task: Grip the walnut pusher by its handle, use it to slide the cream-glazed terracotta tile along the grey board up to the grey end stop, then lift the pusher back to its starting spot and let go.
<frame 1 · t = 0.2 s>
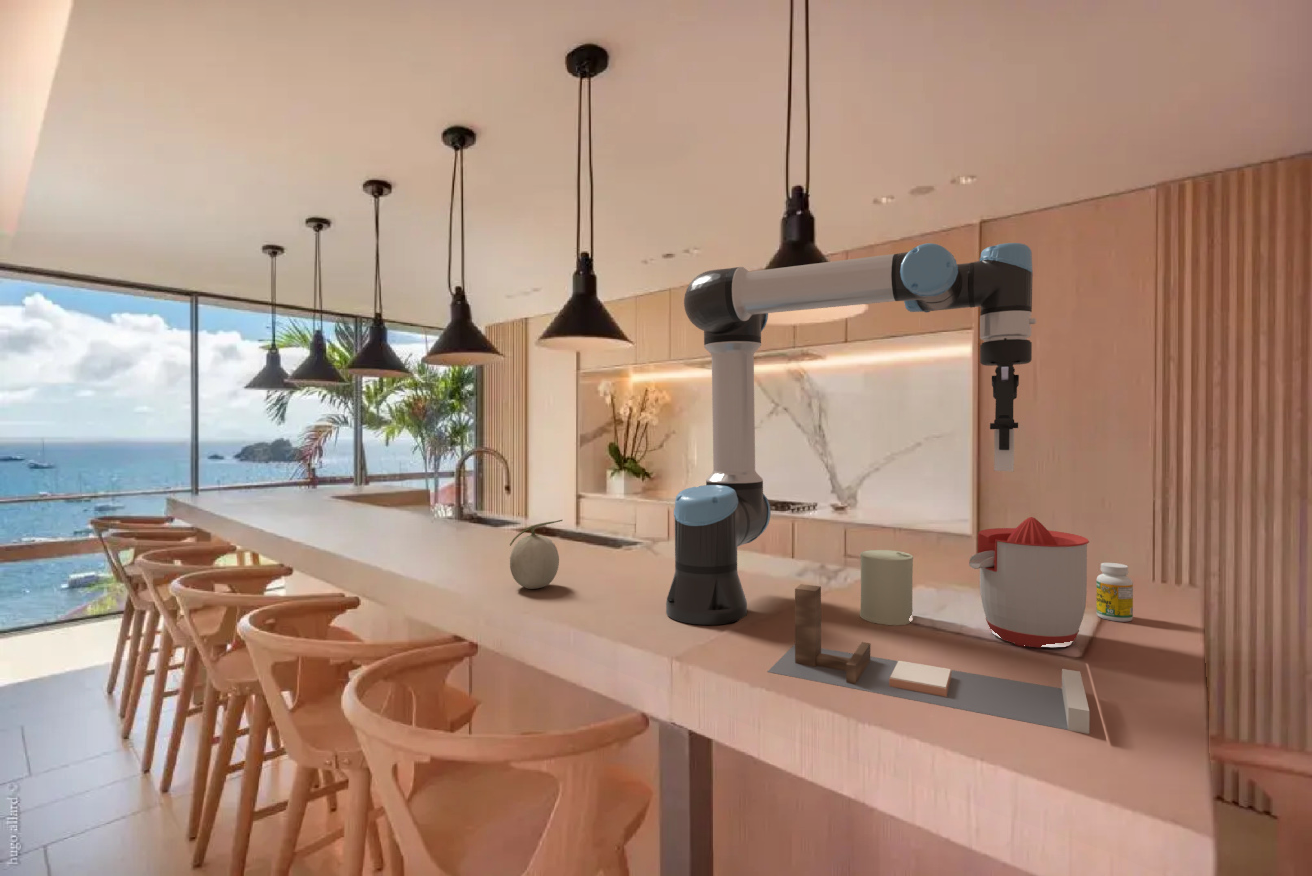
hand: (1004, 468, 107), 28 cm above the counter, tool pointing down, fingers open, 13 cm apart
fruit: (533, 589, 140), on the counter
can: (886, 618, 117), on the counter
pusher: (858, 670, 91), resting on grey board
tile: (920, 681, 87), resting on grey board
citrus juicer: (1025, 639, 105), on the counter
grey board: (916, 683, 87), on the counter
supplement bottle: (1114, 618, 116), on the counter
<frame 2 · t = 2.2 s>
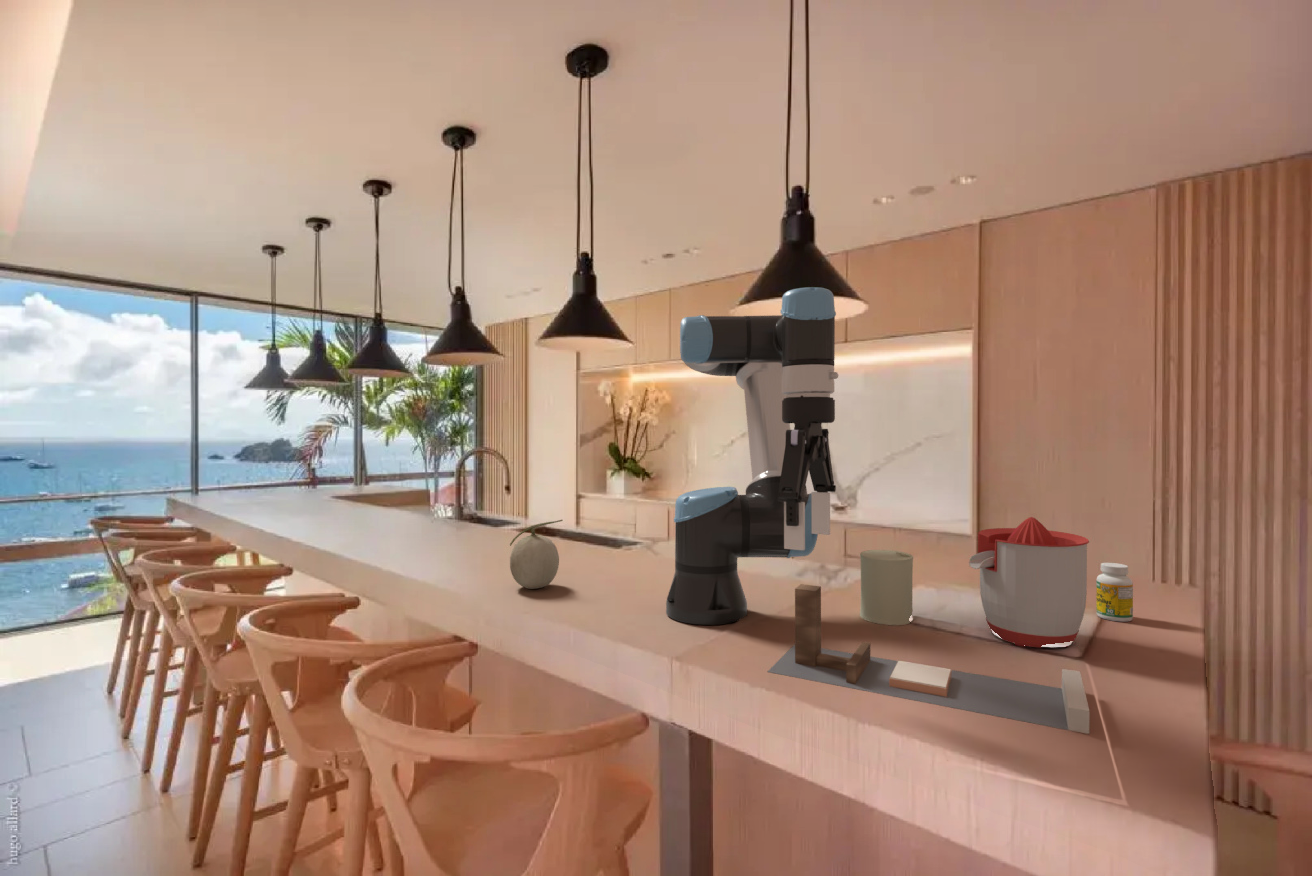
hand: (808, 541, 94), 18 cm above the counter, tool pointing down, fingers open, 13 cm apart
nothing on the counter moved.
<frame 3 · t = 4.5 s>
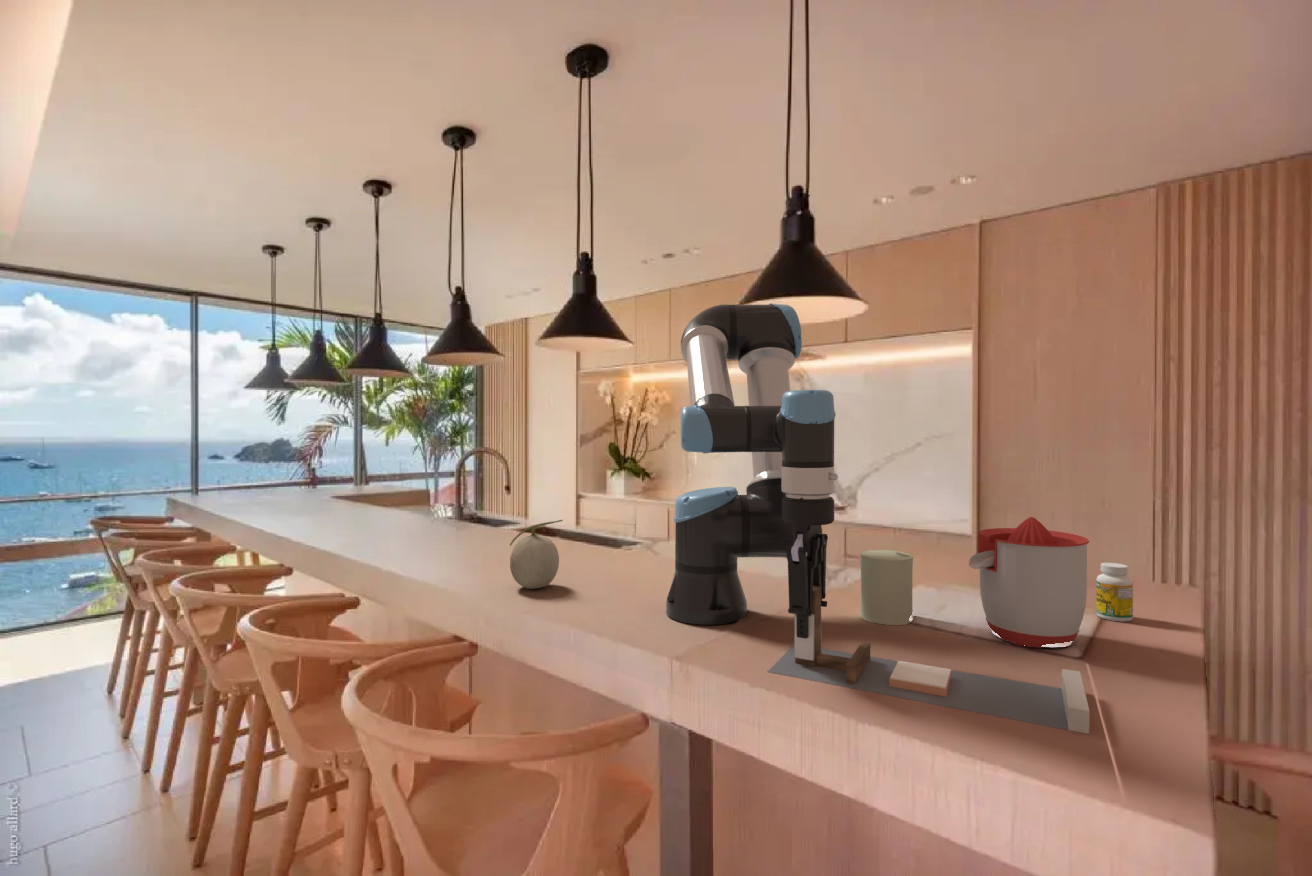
hand: (808, 653, 95), 2 cm above the counter, tool pointing down, fingers closed on pusher, 3 cm apart
pusher: (858, 670, 91), resting on grey board, touching gripper
everything else where it was.
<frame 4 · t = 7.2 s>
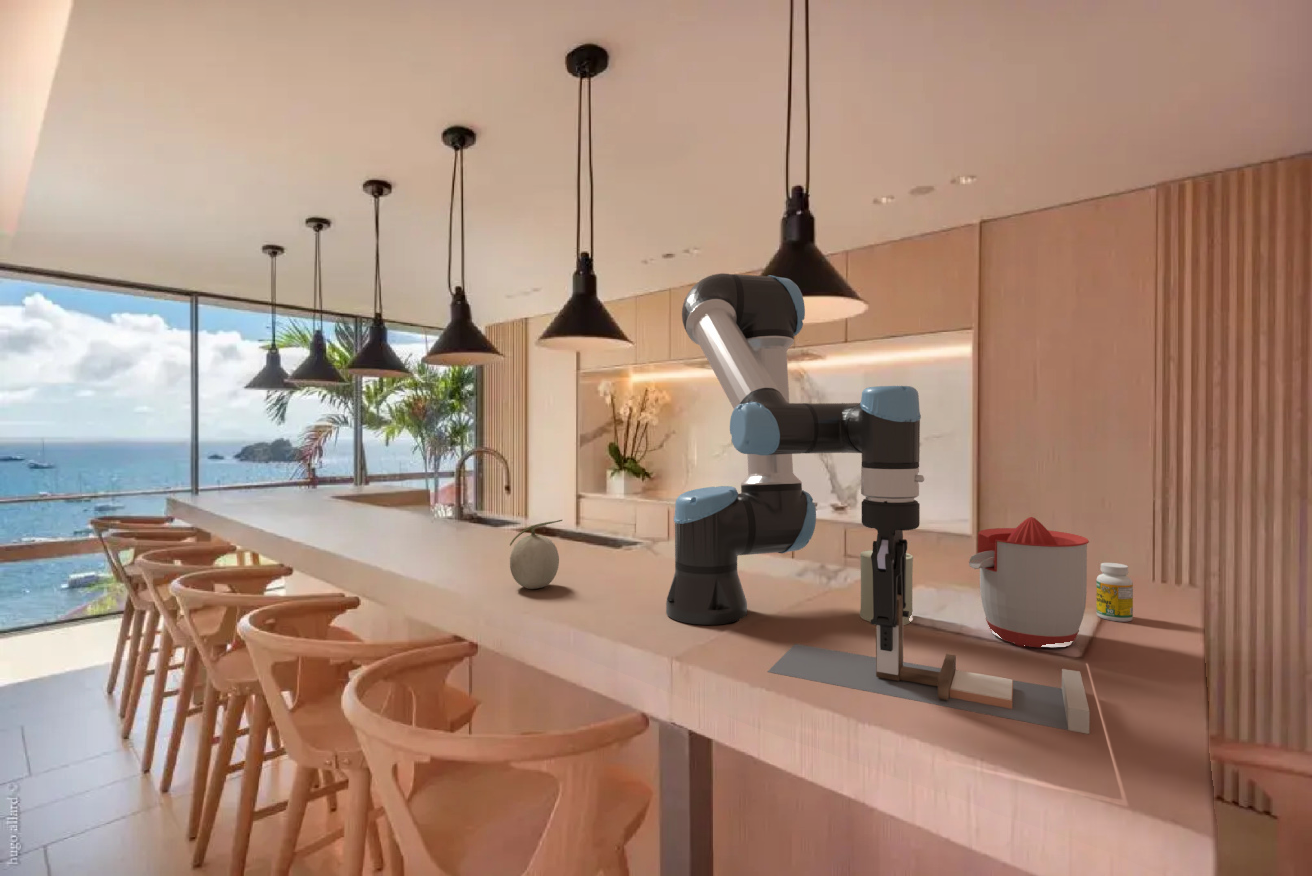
hand: (890, 667, 89), 2 cm above the counter, tool pointing down, fingers closed on pusher, 3 cm apart
pusher: (947, 685, 85), point 1 cm above the counter, touching gripper
tile: (981, 692, 84), resting on grey board
everything else where it was.
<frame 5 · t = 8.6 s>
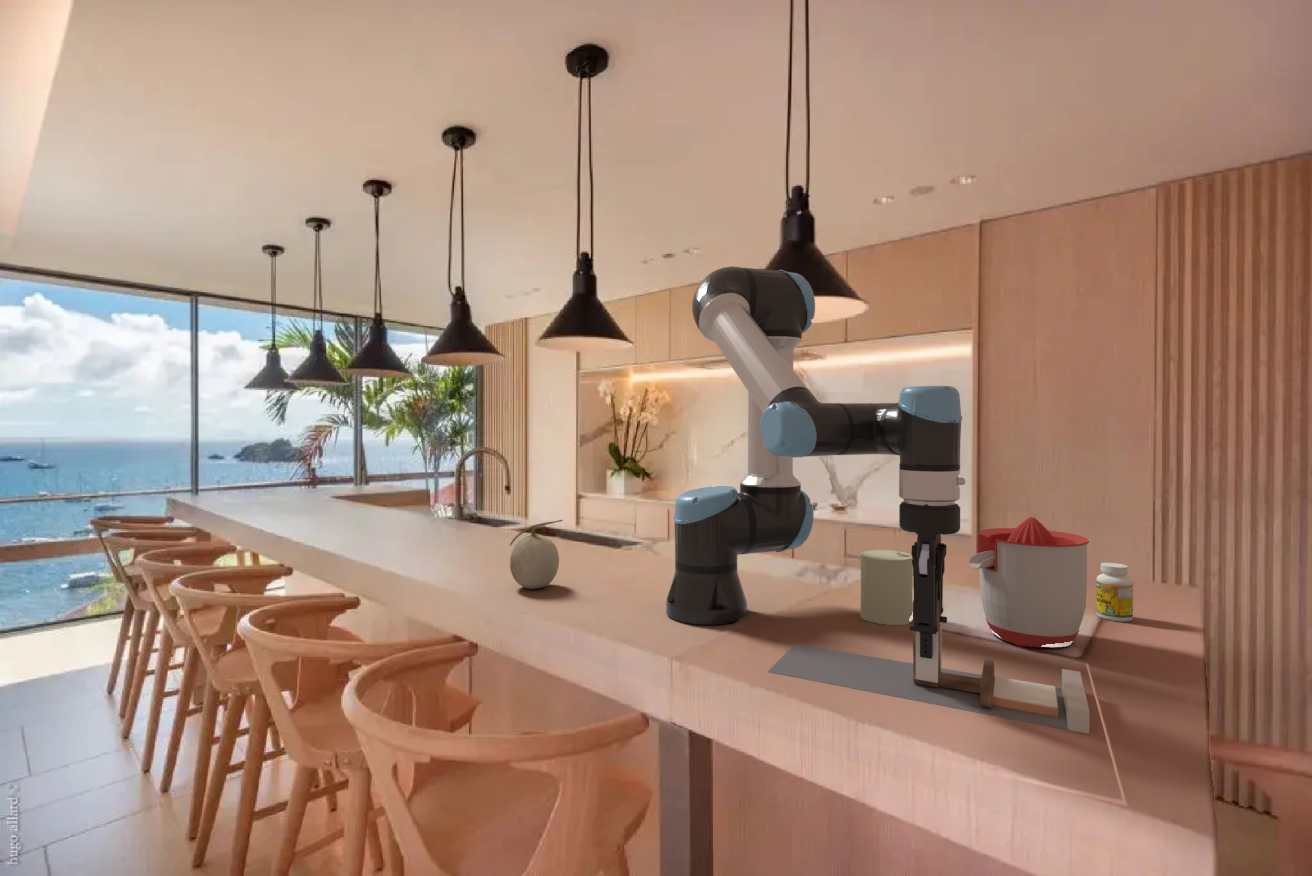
hand: (928, 674, 87), 2 cm above the counter, tool pointing down, fingers closed on pusher, 3 cm apart
pusher: (987, 691, 83), point 1 cm above the counter, touching gripper, tile
tile: (1024, 699, 81), resting on grey board, touching pusher
everything else where it was.
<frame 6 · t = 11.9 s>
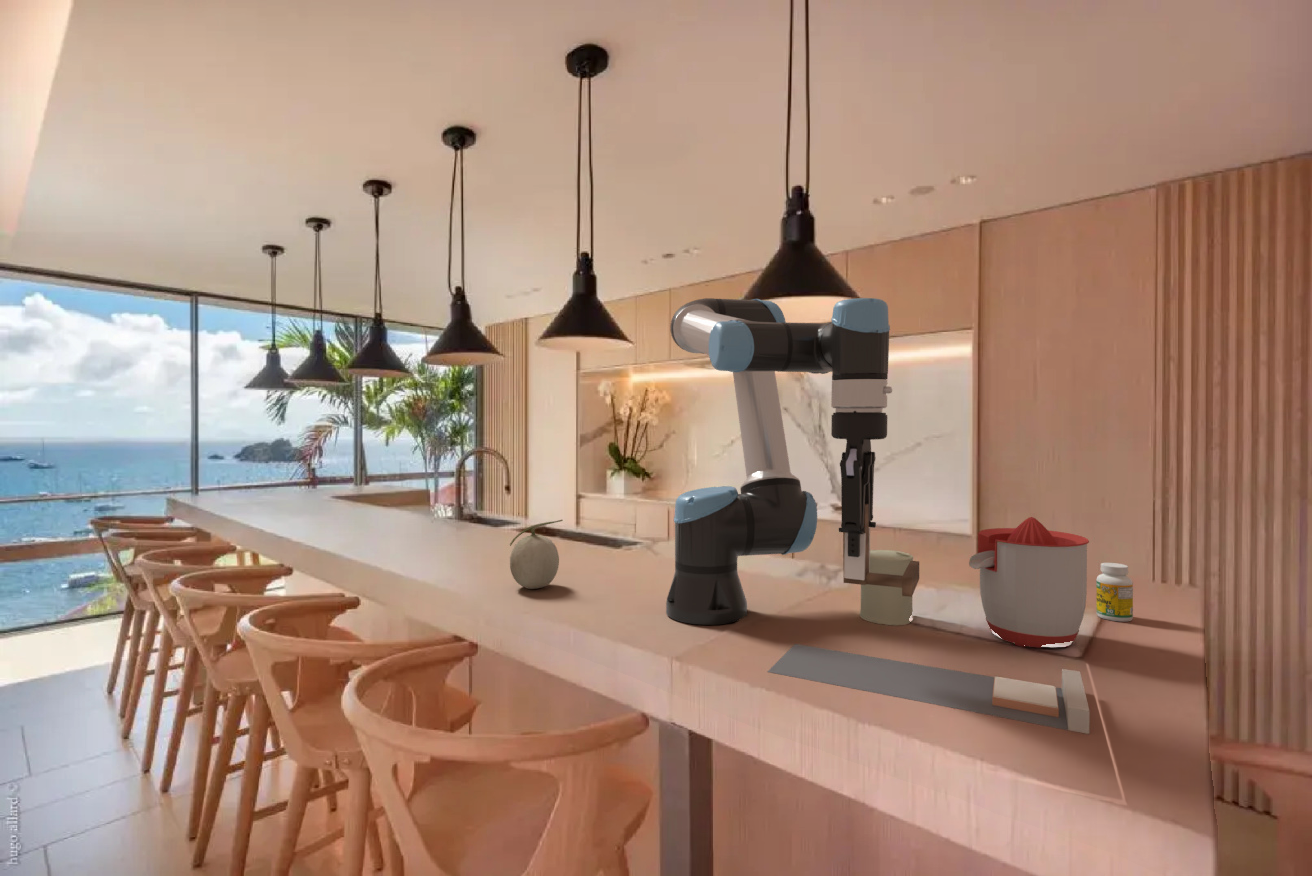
hand: (857, 575, 92), 14 cm above the counter, tool pointing down, fingers closed on pusher, 3 cm apart
pusher: (911, 586, 88), point 13 cm above the counter, touching gripper
tile: (1024, 699, 81), resting on grey board
everything else where it was.
when the fingers open (3 cm above the counter, at t = 14.8 s): pusher drops 1 cm, resting on grey board.
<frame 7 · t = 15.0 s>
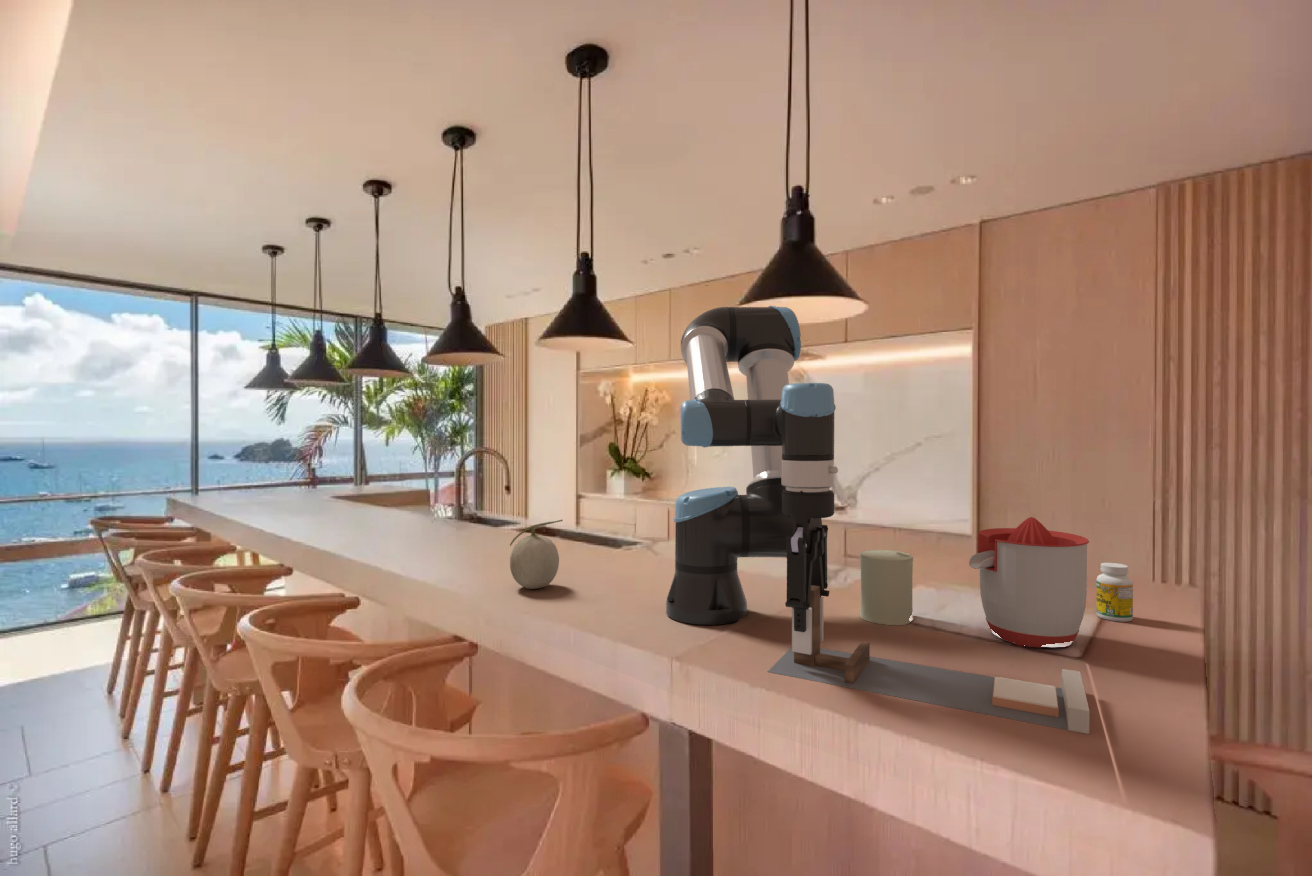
hand: (808, 645, 95), 3 cm above the counter, tool pointing down, fingers open, 5 cm apart
pusher: (857, 670, 91), resting on grey board
everything else where it was.
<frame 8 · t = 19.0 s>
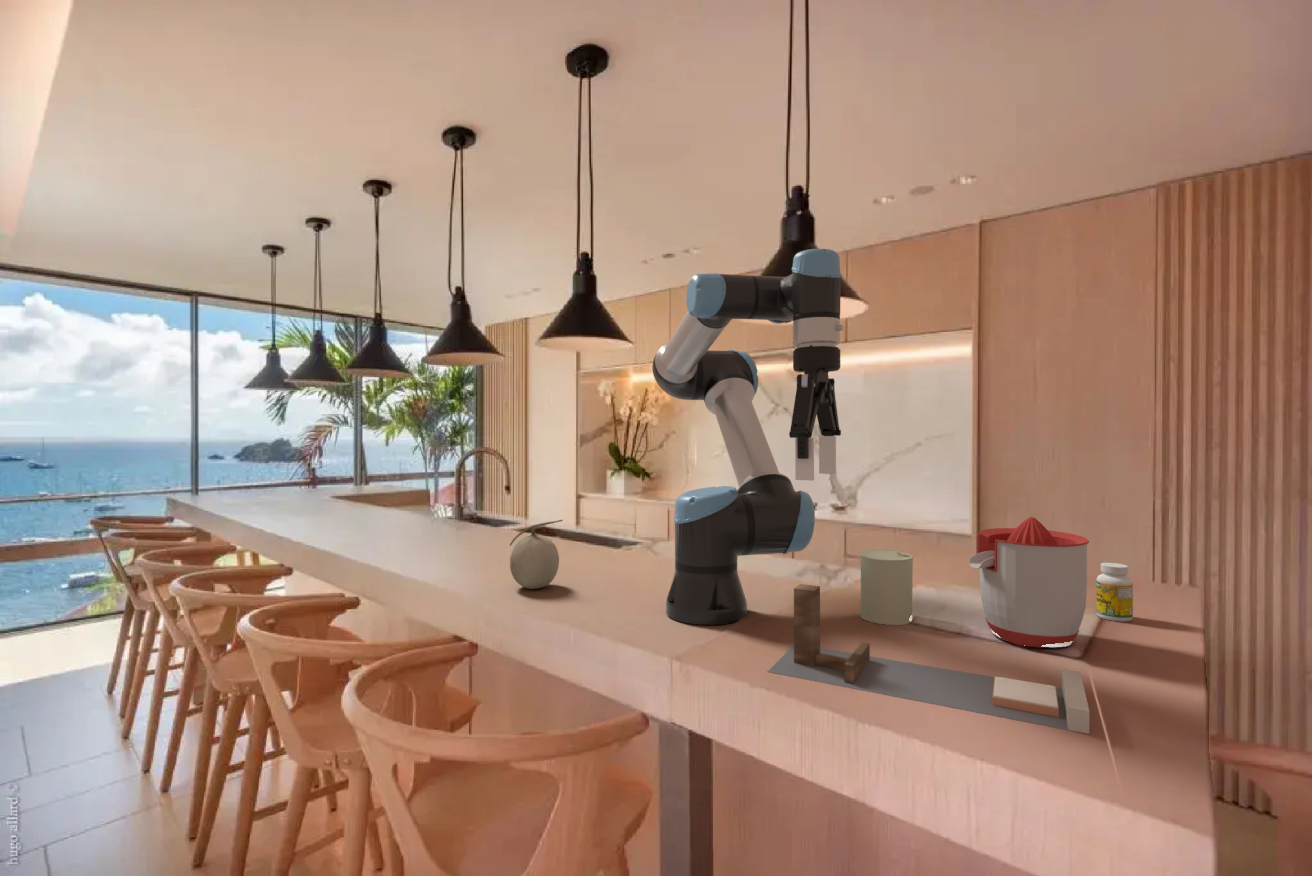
hand: (816, 476, 106), 27 cm above the counter, tool pointing down, fingers open, 13 cm apart
nothing on the counter moved.
at the end: tile 0.3 cm from the target spot, resting on grey board; the gripper is holding nothing; pusher inside the target area (0.4 cm from its centre), resting on grey board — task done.
